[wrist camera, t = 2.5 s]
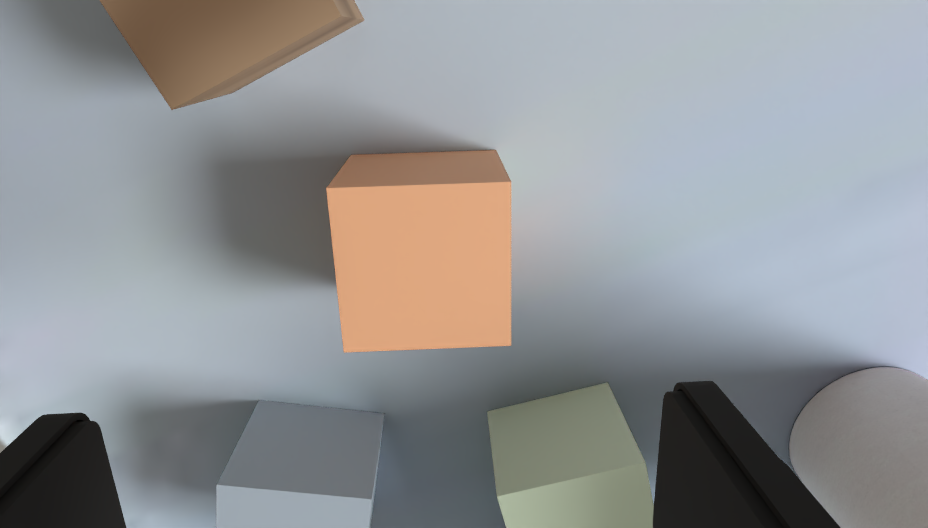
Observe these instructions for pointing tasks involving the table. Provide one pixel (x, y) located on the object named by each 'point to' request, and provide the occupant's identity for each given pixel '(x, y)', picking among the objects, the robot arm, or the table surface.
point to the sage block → (569, 463)
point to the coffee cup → (867, 449)
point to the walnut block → (223, 39)
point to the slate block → (302, 469)
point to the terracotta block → (422, 250)
